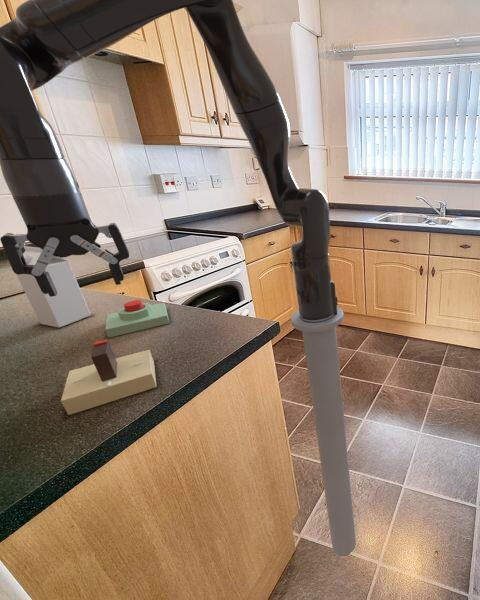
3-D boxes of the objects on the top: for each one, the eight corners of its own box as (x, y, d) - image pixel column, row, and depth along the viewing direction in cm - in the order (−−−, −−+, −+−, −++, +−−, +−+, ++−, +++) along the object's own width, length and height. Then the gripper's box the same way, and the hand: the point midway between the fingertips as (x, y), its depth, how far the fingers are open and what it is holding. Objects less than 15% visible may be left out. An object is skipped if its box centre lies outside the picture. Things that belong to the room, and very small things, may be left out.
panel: (153, 361, 68) (149, 348, 67) (156, 387, 61) (151, 372, 60) (75, 384, 62) (68, 370, 61) (68, 415, 54) (60, 400, 53)
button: (143, 305, 85) (141, 298, 84) (144, 310, 82) (142, 303, 82) (126, 308, 83) (123, 302, 82) (125, 314, 80) (123, 307, 80)
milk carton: (73, 312, 90) (42, 242, 82) (91, 315, 88) (61, 244, 80) (40, 324, 84) (3, 250, 76) (59, 328, 82) (23, 252, 74)
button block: (166, 309, 91) (162, 296, 90) (169, 323, 84) (164, 308, 82) (110, 321, 85) (104, 307, 83) (108, 337, 77) (102, 322, 76)
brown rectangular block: (116, 377, 59) (105, 351, 57) (101, 381, 58) (90, 355, 55) (117, 362, 63) (107, 338, 61) (103, 366, 62) (93, 342, 60)
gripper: (-32, 197, 45) (25, 307, 51) (105, 189, 53) (139, 285, 59) (-15, 192, 50) (34, 292, 57) (106, 186, 58) (137, 274, 65)
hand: (87, 288), depth 58 cm, fingers open, 8 cm apart
